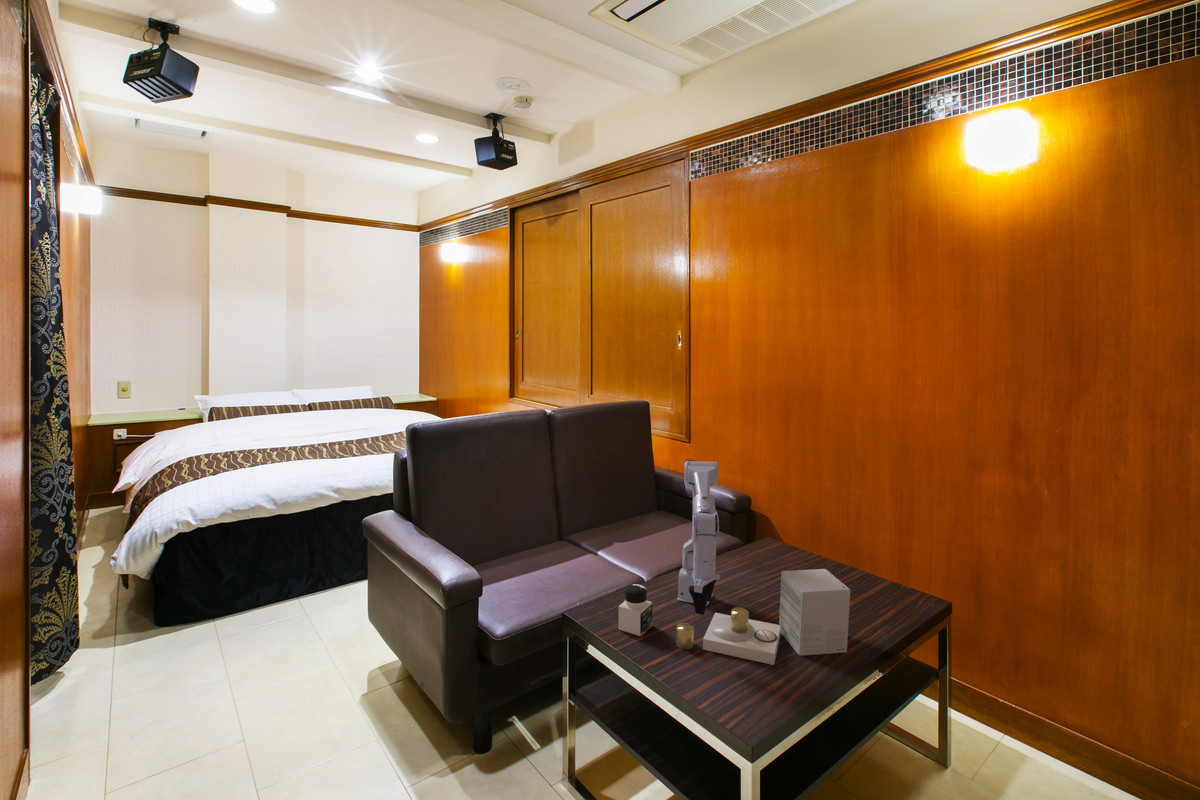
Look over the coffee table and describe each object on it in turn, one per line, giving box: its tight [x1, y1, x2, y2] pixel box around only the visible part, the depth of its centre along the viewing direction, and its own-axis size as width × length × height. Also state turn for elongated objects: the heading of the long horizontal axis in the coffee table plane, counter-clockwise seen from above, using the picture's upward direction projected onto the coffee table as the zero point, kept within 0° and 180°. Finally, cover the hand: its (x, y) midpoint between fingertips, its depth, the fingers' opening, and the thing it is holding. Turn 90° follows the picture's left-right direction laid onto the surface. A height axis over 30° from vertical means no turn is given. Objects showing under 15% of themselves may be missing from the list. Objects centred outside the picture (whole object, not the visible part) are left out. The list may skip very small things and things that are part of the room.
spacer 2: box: [730, 606, 750, 634], centre depth 156 cm, size 4×4×5 cm
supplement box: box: [778, 568, 851, 656], centre depth 156 cm, size 13×13×18 cm
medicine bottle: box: [618, 583, 653, 637], centre depth 163 cm, size 7×7×12 cm
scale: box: [702, 612, 782, 666], centre depth 156 cm, size 18×15×4 cm
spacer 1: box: [675, 622, 695, 650], centre depth 155 cm, size 4×4×5 cm
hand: (703, 606), depth 155 cm, fingers open, 7 cm apart
